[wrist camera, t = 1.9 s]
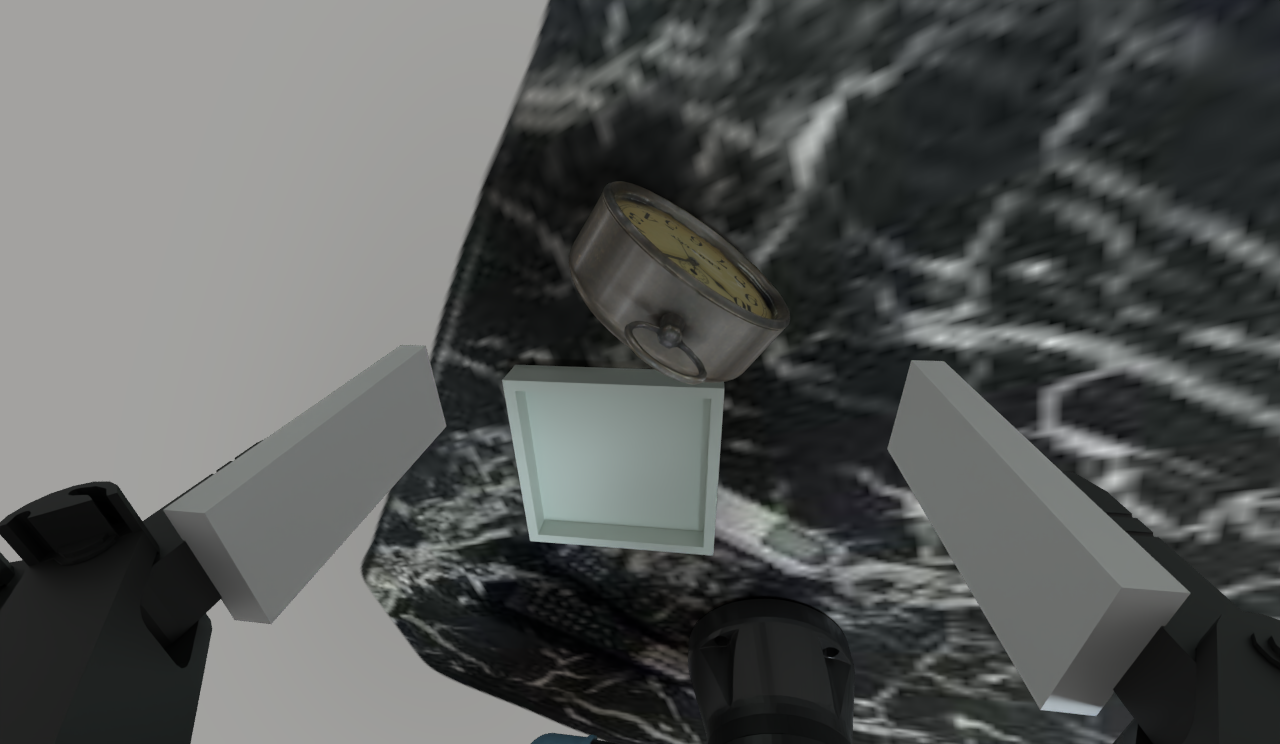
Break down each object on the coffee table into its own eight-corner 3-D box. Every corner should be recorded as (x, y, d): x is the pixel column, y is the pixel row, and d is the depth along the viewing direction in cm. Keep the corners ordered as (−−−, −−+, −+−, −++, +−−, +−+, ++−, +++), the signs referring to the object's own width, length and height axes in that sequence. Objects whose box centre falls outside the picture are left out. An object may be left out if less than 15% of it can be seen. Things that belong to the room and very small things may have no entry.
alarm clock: (776, 273, 29) (850, 403, 15) (722, 337, 31) (740, 504, 17) (632, 166, 27) (553, 194, 13) (586, 243, 30) (476, 339, 15)
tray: (712, 532, 39) (713, 555, 37) (539, 519, 41) (530, 540, 39) (722, 371, 32) (724, 388, 30) (515, 364, 34) (502, 380, 32)
